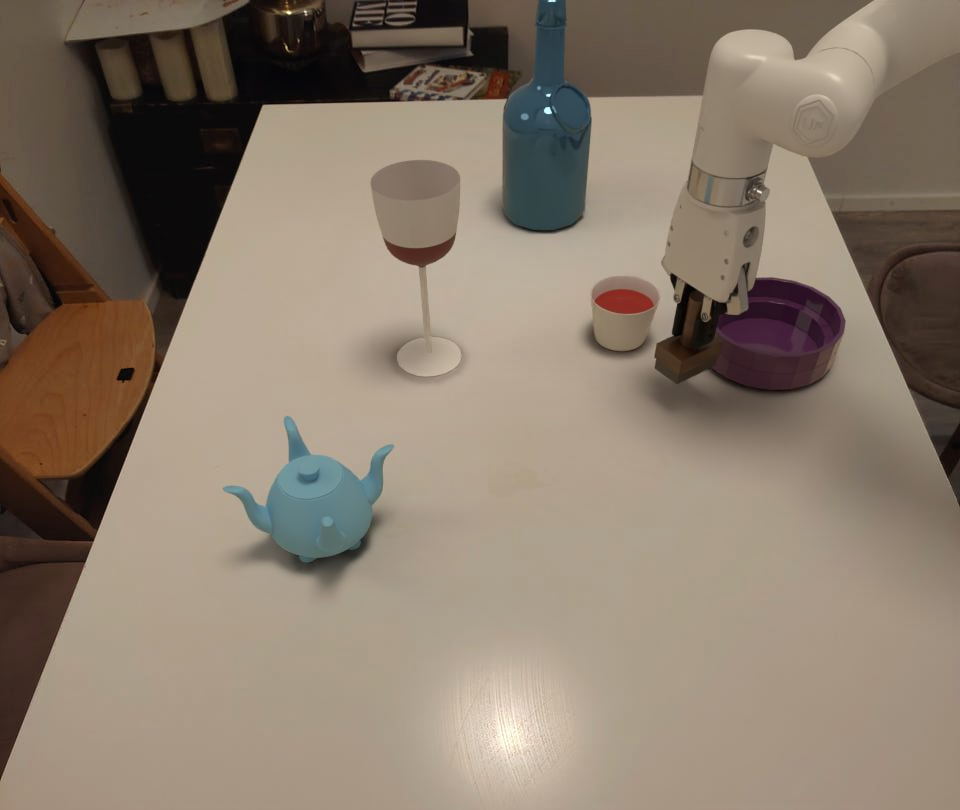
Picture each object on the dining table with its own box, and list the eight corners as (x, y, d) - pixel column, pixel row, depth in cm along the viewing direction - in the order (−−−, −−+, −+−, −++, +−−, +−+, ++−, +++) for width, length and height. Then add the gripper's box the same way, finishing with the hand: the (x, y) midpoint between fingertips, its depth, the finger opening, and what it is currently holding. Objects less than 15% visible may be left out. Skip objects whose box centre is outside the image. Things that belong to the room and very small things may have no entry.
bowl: (761, 299, 120) (772, 263, 115) (859, 360, 111) (874, 322, 107) (671, 344, 114) (678, 307, 110) (766, 411, 106) (778, 374, 101)
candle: (596, 312, 119) (600, 269, 114) (659, 324, 117) (667, 281, 112) (578, 350, 114) (582, 307, 109) (644, 362, 112) (651, 319, 107)
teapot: (243, 555, 93) (218, 487, 85) (307, 478, 100) (289, 408, 92) (345, 592, 90) (329, 525, 82) (403, 509, 97) (394, 440, 89)
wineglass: (387, 340, 116) (366, 165, 97) (460, 331, 117) (452, 155, 98) (396, 382, 111) (375, 205, 92) (472, 372, 111) (466, 194, 93)
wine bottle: (484, 212, 135) (480, -17, 111) (543, 183, 141) (552, -42, 116) (544, 245, 129) (555, 10, 105) (604, 213, 134) (627, -17, 110)
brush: (692, 348, 107) (708, 277, 99) (717, 366, 104) (735, 295, 97) (651, 368, 104) (664, 297, 97) (676, 386, 102) (691, 315, 95)
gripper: (812, 200, 84) (764, 360, 99) (696, 139, 91) (668, 296, 106) (758, 224, 81) (717, 384, 96) (644, 160, 89) (623, 317, 104)
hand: (692, 337), depth 101 cm, fingers closed on brush, 2 cm apart
